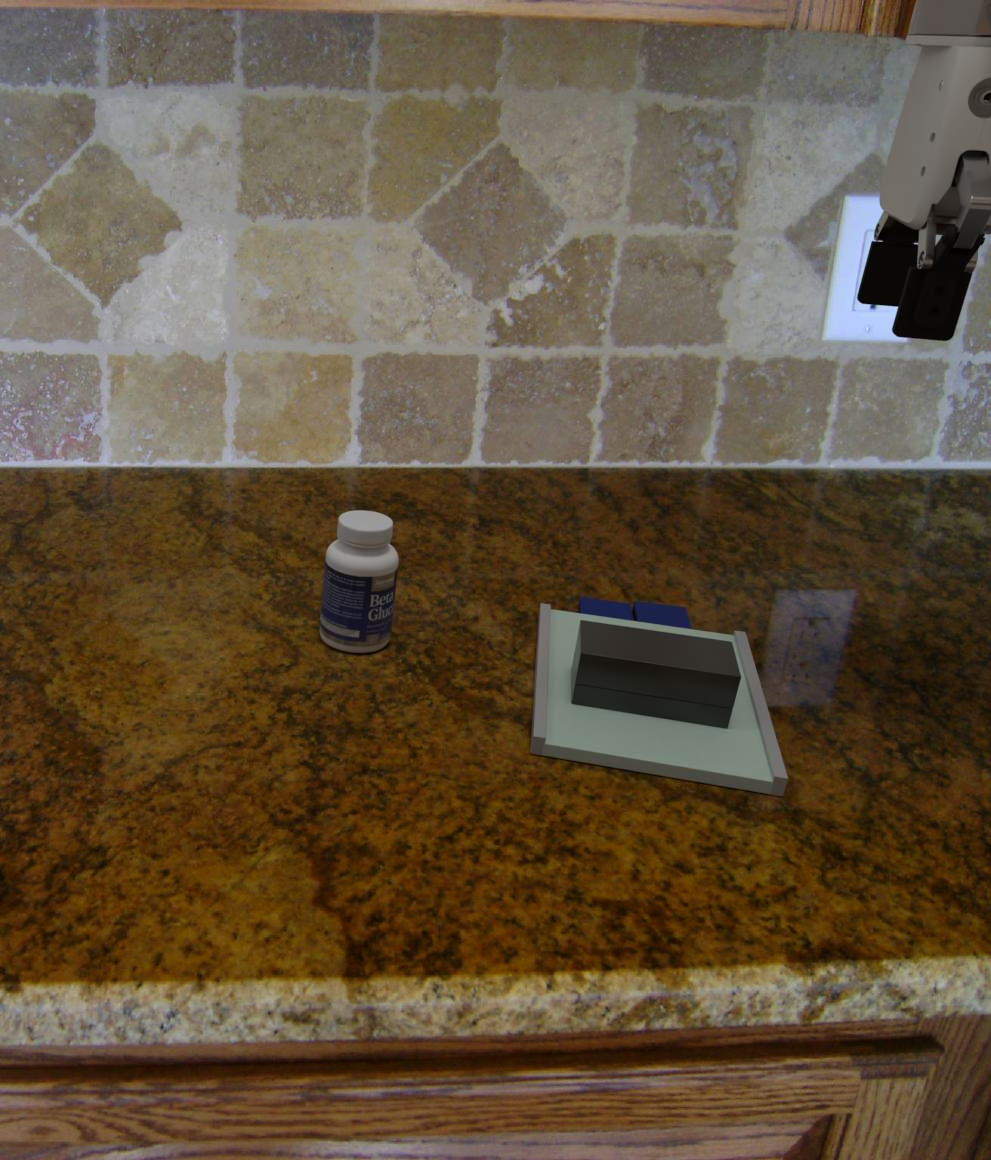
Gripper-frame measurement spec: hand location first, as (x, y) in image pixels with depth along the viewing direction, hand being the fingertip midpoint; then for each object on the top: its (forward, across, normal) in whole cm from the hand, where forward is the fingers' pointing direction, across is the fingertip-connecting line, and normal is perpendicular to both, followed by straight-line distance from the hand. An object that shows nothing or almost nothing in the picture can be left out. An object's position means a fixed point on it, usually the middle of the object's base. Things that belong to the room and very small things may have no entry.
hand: (900, 320), depth 74 cm
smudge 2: (+26, +6, +9) cm, 29 cm away
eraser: (+25, -8, +11) cm, 29 cm away
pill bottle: (+26, -4, +32) cm, 42 cm away
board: (+26, -6, +11) cm, 29 cm away
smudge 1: (+27, +6, +13) cm, 30 cm away
